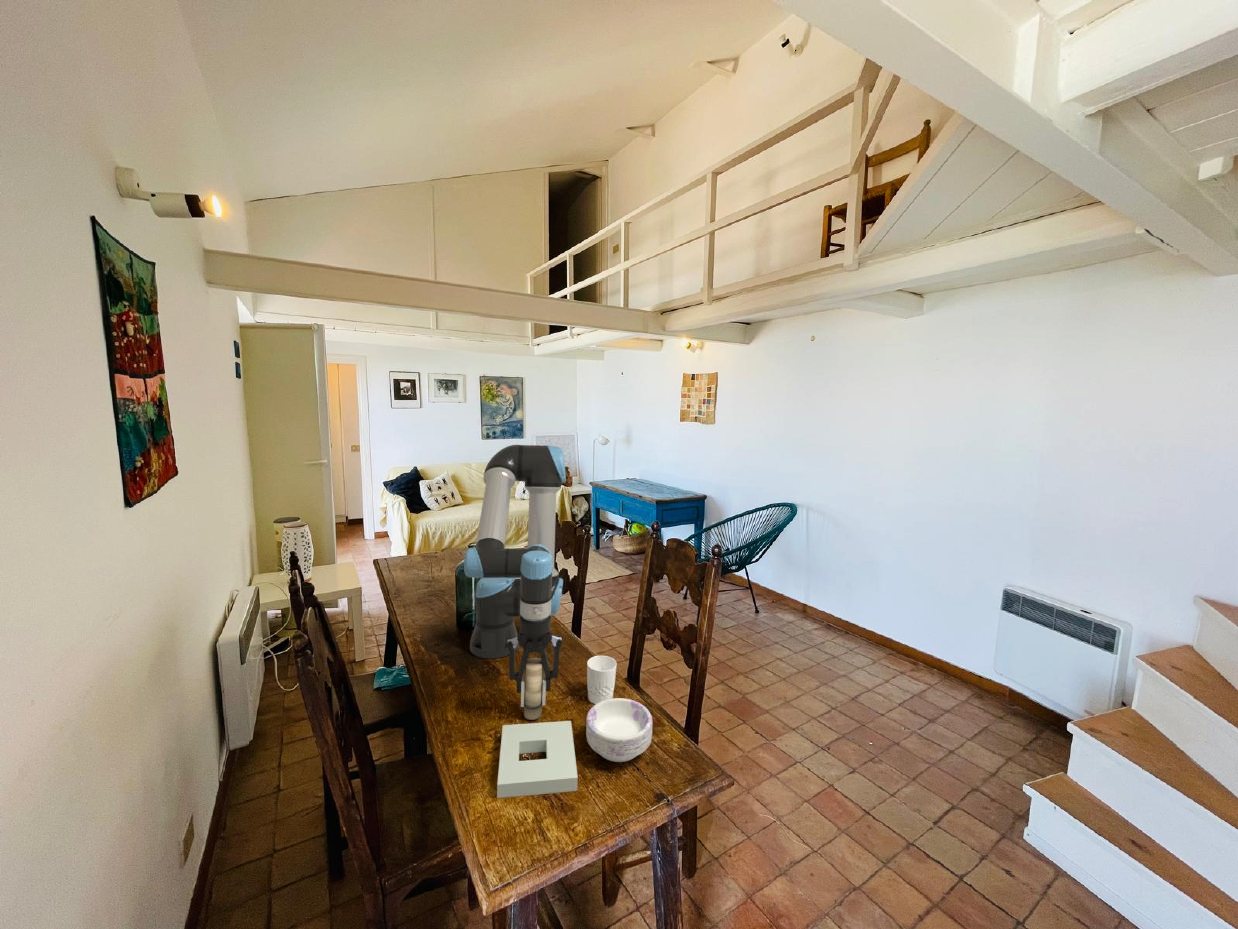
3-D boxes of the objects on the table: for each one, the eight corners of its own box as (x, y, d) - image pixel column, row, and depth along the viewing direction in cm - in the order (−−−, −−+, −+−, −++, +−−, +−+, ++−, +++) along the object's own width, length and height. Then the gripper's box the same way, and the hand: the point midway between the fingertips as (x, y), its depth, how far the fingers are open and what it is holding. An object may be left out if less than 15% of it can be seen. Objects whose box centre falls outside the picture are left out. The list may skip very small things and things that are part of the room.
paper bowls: (574, 737, 117) (575, 706, 116) (629, 719, 124) (631, 690, 123) (604, 782, 104) (605, 747, 103) (663, 759, 111) (665, 726, 110)
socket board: (502, 737, 116) (502, 725, 115) (570, 732, 119) (571, 720, 118) (497, 798, 98) (497, 784, 98) (577, 790, 101) (577, 777, 101)
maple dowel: (523, 709, 126) (524, 658, 124) (541, 707, 127) (543, 657, 125) (523, 720, 121) (524, 668, 119) (542, 719, 122) (543, 667, 120)
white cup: (601, 685, 138) (602, 652, 137) (620, 698, 133) (622, 664, 132) (579, 696, 133) (581, 662, 132) (599, 710, 127) (601, 674, 126)
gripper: (497, 623, 115) (496, 714, 118) (572, 620, 118) (569, 710, 122) (499, 609, 123) (498, 696, 126) (570, 607, 126) (567, 692, 129)
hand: (533, 702), depth 124 cm, fingers closed on maple dowel, 4 cm apart
